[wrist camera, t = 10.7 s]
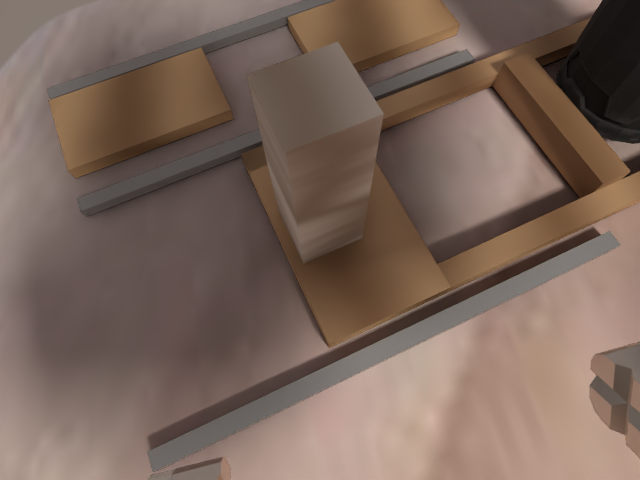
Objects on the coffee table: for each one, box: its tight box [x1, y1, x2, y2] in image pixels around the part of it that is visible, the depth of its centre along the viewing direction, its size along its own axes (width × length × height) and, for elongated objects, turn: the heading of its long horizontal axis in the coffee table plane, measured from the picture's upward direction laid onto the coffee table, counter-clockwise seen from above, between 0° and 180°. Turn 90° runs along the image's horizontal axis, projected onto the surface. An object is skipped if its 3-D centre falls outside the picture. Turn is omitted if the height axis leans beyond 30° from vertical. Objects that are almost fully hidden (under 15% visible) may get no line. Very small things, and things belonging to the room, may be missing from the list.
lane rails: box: [47, 0, 620, 472], centre depth 24 cm, size 23×21×1 cm
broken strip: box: [48, 0, 460, 178], centre depth 26 cm, size 24×5×1 cm, turn 115°
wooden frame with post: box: [241, 17, 640, 348], centre depth 19 cm, size 26×11×10 cm, turn 115°
